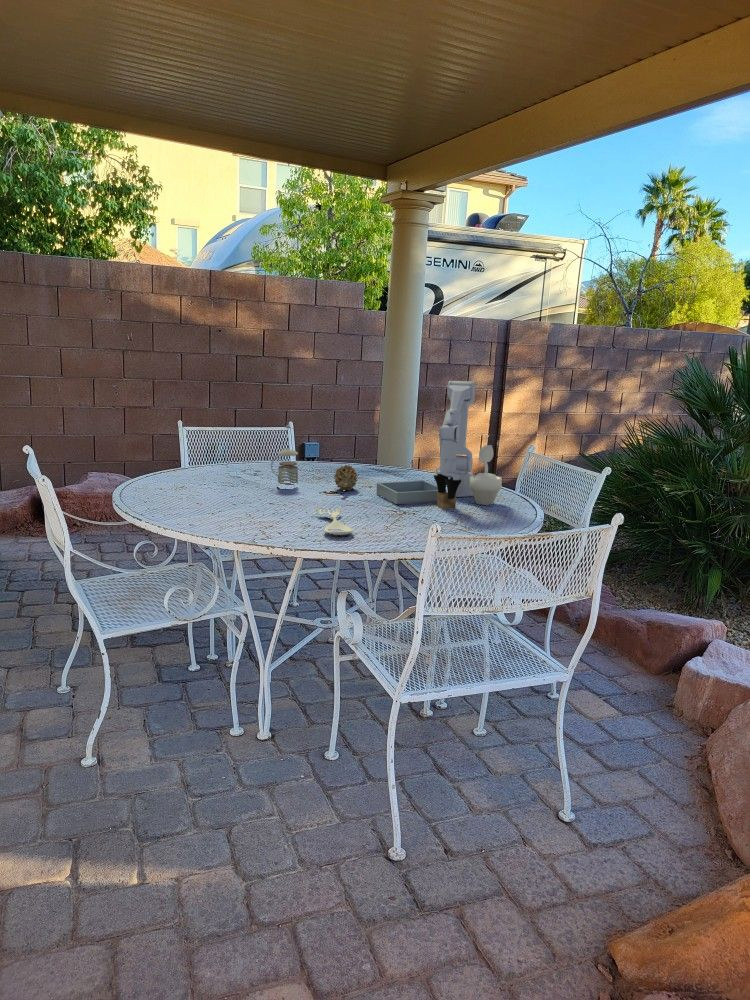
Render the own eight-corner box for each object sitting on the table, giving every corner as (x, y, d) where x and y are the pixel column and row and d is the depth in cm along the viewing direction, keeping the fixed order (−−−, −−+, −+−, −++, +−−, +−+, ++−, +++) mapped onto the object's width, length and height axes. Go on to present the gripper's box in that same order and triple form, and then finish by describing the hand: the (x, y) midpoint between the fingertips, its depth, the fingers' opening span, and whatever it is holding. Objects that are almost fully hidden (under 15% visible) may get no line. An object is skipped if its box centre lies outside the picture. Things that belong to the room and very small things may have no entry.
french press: (302, 489, 290) (302, 426, 285) (273, 490, 287) (272, 426, 282) (298, 484, 299) (298, 423, 294) (269, 485, 296) (269, 423, 291)
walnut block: (449, 505, 266) (449, 492, 265) (455, 508, 262) (456, 494, 261) (436, 506, 264) (437, 492, 263) (442, 509, 260) (443, 495, 259)
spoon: (340, 515, 249) (341, 505, 248) (356, 539, 218) (356, 528, 217) (314, 515, 247) (314, 505, 247) (325, 540, 217) (326, 529, 216)
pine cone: (334, 486, 297) (334, 462, 295) (357, 486, 297) (358, 462, 295) (332, 497, 276) (332, 471, 273) (357, 497, 276) (357, 471, 274)
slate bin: (423, 491, 290) (423, 480, 289) (446, 501, 272) (446, 490, 271) (376, 494, 283) (376, 482, 282) (396, 505, 265) (396, 492, 264)
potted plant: (500, 507, 264) (504, 438, 258) (467, 505, 266) (470, 437, 261) (501, 500, 276) (505, 434, 271) (470, 498, 278) (473, 433, 273)
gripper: (429, 456, 264) (427, 493, 267) (447, 462, 251) (445, 501, 254) (446, 455, 267) (445, 492, 270) (465, 461, 254) (463, 500, 257)
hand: (446, 496), depth 262 cm, fingers open, 7 cm apart
